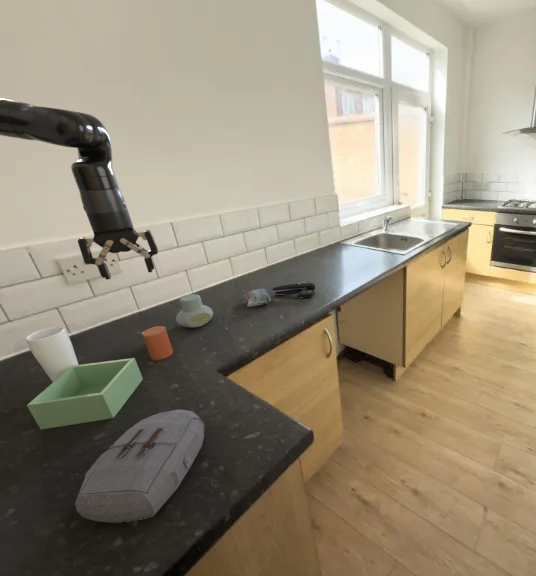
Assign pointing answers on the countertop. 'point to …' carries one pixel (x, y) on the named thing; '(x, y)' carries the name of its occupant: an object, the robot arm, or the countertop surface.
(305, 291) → the can opener
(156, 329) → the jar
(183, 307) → the air freshener
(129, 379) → the box
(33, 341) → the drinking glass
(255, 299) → the packaged food
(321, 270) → the countertop surface
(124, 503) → the small grey backpack
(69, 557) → the countertop surface
